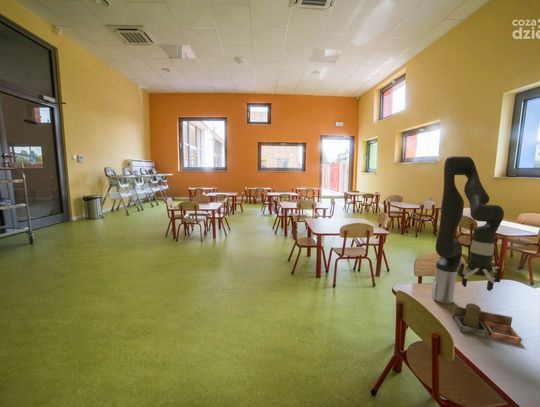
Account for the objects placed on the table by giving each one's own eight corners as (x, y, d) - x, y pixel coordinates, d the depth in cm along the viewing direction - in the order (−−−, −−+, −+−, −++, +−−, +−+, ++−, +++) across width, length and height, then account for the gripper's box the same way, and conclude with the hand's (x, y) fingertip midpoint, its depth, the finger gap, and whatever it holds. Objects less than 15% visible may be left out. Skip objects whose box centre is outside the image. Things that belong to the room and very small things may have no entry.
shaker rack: (459, 331, 112) (460, 318, 112) (452, 317, 123) (454, 306, 122) (521, 345, 105) (524, 331, 104) (508, 329, 115) (511, 316, 114)
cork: (458, 324, 118) (461, 301, 116) (470, 324, 118) (474, 301, 116) (469, 333, 112) (473, 309, 110) (482, 332, 112) (486, 308, 111)
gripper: (463, 252, 109) (459, 288, 111) (506, 257, 104) (501, 295, 106) (458, 247, 116) (454, 281, 118) (498, 251, 111) (493, 287, 113)
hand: (476, 288), depth 112 cm, fingers open, 8 cm apart
